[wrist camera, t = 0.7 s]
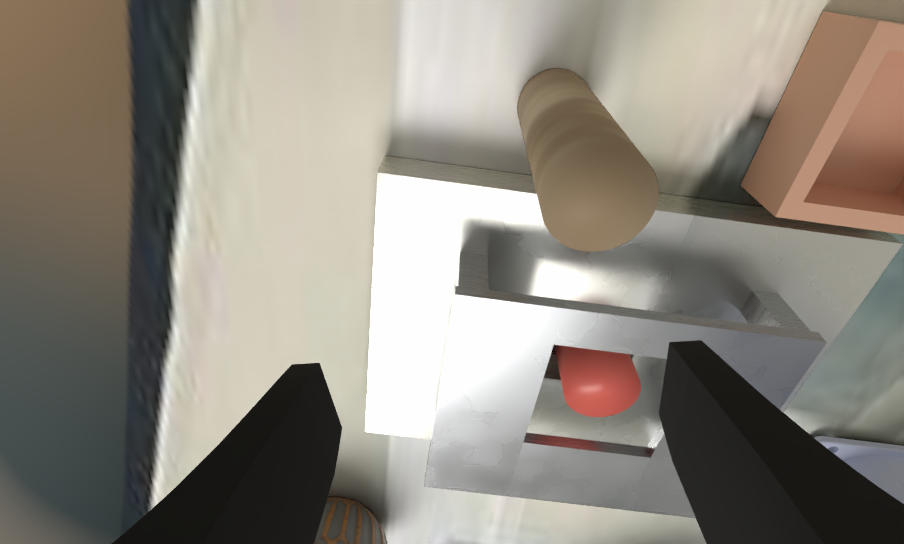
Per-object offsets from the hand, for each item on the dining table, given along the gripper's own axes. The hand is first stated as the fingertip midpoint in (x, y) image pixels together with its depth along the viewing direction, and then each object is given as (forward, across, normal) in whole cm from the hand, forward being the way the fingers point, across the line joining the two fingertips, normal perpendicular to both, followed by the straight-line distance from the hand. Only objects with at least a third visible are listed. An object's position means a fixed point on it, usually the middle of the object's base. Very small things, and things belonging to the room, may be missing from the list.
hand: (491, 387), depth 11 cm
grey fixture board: (+10, -4, +6) cm, 12 cm away
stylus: (+10, -2, -3) cm, 10 cm away
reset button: (+8, -4, +7) cm, 11 cm away
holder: (+10, -12, -2) cm, 16 cm away
